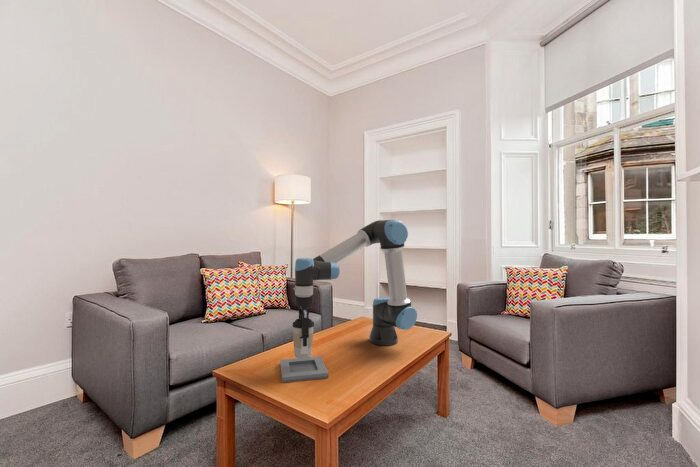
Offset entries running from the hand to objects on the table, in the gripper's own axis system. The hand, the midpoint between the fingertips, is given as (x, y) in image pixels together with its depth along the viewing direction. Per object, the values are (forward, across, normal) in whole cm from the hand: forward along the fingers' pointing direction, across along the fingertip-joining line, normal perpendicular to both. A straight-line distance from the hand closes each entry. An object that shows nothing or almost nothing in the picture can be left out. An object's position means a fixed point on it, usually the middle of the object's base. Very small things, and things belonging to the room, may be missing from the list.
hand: (303, 349), depth 138 cm
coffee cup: (+3, 0, 0) cm, 3 cm away
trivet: (+9, 0, 0) cm, 9 cm away
